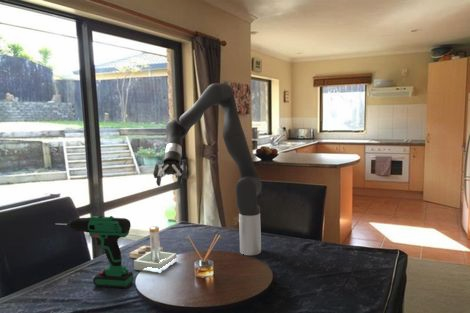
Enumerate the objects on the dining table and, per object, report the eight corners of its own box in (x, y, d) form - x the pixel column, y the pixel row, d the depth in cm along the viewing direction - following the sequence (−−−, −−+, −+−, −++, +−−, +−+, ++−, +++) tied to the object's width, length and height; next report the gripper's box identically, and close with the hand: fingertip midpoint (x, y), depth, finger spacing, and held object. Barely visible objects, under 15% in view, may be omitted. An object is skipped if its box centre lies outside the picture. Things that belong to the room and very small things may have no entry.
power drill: (127, 289, 127) (123, 218, 125) (54, 284, 133) (49, 216, 131) (135, 282, 133) (131, 214, 130) (64, 277, 139) (59, 212, 136)
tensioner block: (143, 249, 167) (143, 243, 166) (162, 252, 163) (162, 245, 163) (129, 257, 157) (129, 251, 157) (149, 260, 154) (149, 253, 153)
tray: (152, 258, 156) (151, 250, 155) (176, 261, 151) (176, 253, 151) (134, 269, 144) (133, 260, 144) (160, 273, 140) (159, 264, 140)
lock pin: (154, 261, 150) (152, 226, 149) (162, 262, 149) (160, 226, 147) (149, 265, 147) (147, 228, 145) (157, 266, 145) (155, 229, 144)
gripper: (155, 150, 164) (150, 180, 154) (187, 149, 164) (183, 179, 153) (159, 161, 170) (153, 190, 160) (189, 160, 170) (186, 189, 159)
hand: (168, 184), depth 157 cm, fingers open, 8 cm apart
